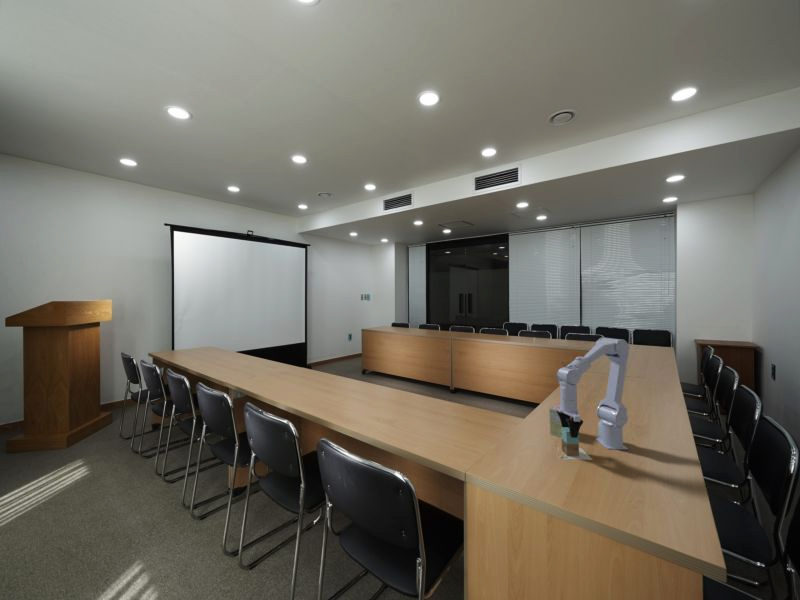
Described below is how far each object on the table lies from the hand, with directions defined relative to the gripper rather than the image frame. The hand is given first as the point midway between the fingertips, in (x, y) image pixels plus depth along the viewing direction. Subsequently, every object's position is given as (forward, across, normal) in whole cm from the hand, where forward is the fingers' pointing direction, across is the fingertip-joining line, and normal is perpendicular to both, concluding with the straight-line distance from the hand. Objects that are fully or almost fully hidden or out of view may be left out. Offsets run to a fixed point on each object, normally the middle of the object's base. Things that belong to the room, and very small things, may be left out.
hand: (569, 433), depth 127 cm
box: (+8, -20, +4) cm, 22 cm away
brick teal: (+3, 0, 0) cm, 3 cm away
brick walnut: (+8, 0, 0) cm, 8 cm away
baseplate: (+8, 0, 0) cm, 8 cm away
